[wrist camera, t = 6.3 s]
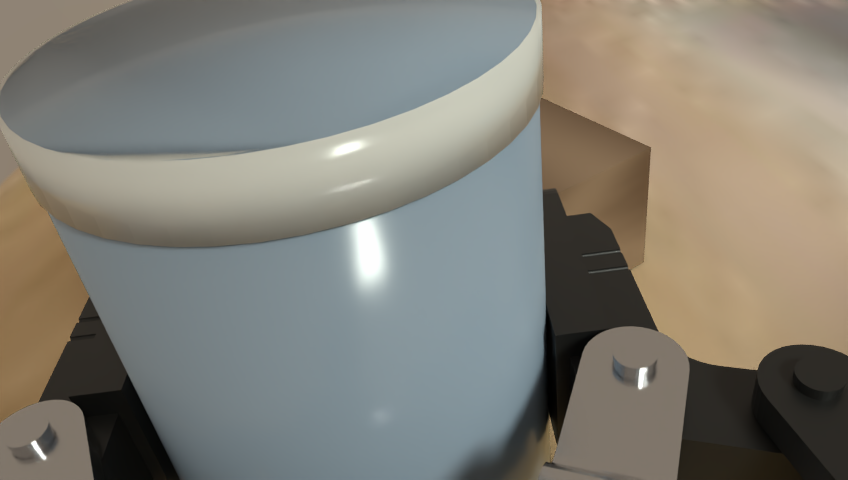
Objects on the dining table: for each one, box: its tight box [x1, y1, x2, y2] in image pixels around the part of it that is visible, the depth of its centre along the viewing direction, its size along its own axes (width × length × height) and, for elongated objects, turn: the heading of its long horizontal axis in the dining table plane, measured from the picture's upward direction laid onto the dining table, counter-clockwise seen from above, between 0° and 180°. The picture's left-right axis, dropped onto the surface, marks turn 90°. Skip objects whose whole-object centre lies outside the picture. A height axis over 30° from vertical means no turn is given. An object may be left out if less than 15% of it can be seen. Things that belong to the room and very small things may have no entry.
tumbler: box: [0, 0, 551, 480], centre depth 11 cm, size 6×6×12 cm
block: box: [540, 98, 651, 270], centre depth 24 cm, size 11×11×4 cm
